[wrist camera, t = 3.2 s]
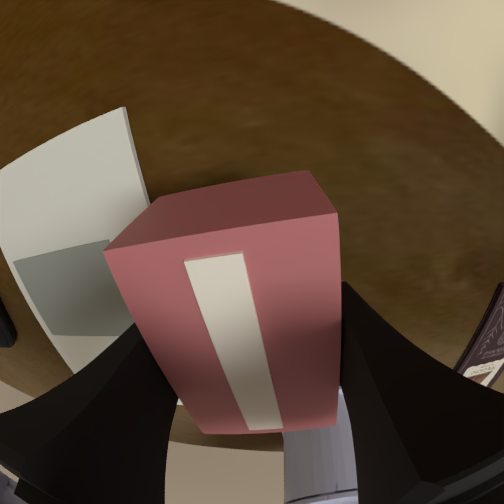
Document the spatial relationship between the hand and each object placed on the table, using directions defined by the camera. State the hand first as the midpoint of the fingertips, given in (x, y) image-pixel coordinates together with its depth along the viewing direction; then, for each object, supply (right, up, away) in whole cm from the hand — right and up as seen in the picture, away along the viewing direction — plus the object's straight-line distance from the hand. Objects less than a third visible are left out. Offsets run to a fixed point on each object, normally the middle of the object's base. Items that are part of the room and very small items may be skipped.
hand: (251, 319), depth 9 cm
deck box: (0, +1, +2) cm, 2 cm away
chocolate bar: (+23, -8, +11) cm, 26 cm away
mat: (-11, -1, +8) cm, 14 cm away
